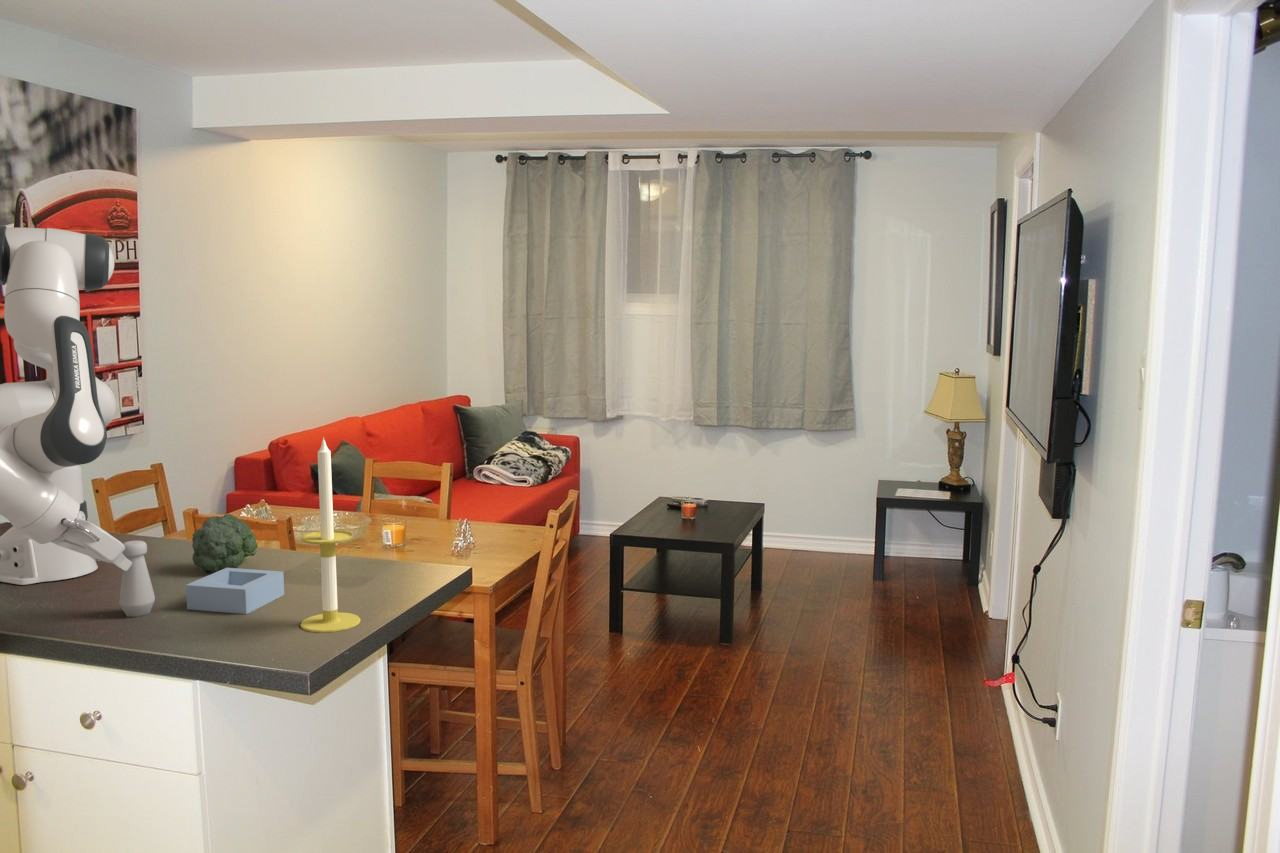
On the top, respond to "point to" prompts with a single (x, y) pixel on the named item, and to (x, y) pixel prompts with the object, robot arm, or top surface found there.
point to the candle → (327, 555)
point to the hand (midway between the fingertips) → (114, 562)
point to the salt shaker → (136, 582)
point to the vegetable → (222, 543)
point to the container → (235, 590)
